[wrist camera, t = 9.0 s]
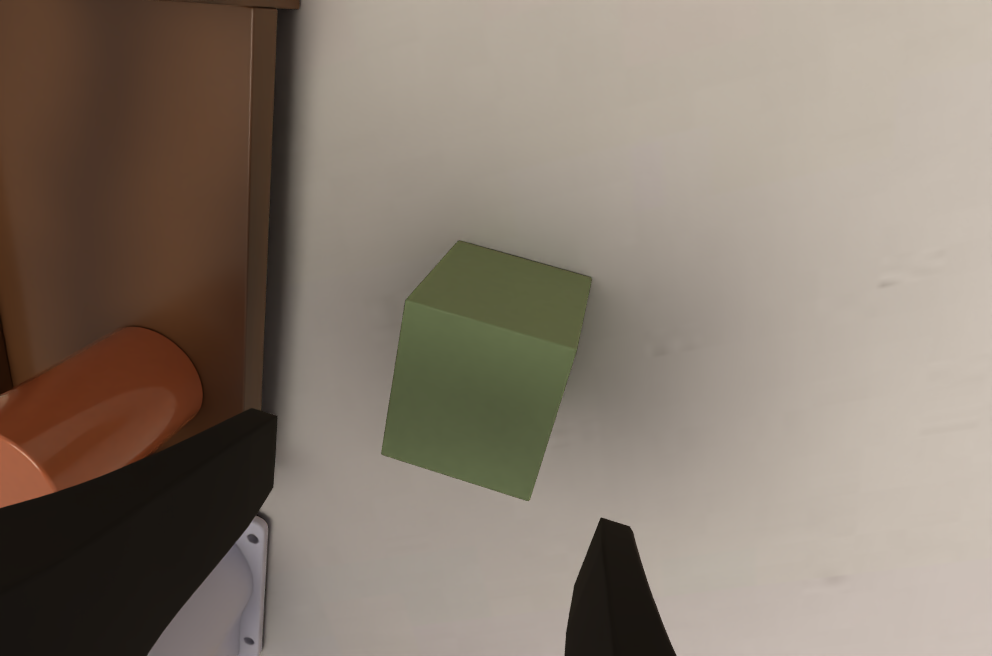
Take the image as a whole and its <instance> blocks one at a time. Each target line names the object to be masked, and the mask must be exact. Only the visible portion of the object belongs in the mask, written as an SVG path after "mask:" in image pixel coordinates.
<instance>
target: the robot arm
mask: <svg viewBox="0 0 992 656" xmlns="http://www.w3.org/2000/svg"><path fill="white" fill-rule="evenodd" d="M276 433H277V416H276V415H273V414H270V413H267V412H263V411H260V410H257V409H254V408H250V409H248V410H246V411H244V412H241V413H239V414H237V415H235V416H233V417H231V418H229V419H227V420H225V421H223V422H221V423H219V424H217V425H215V426H213V427H211V428H209V429H206V430H204V431H202V432H200V433H198V434H196V435H194V436H192V437H190V438H188V439H185V440H183V441H181V442H179V443H177V444H175V445H173V446H171V447H168V448H166V449H164V450H162V451H160V452H158V453H155V454H153V455H150V456H148V457H146V458H143V459H141V460H139V461H136V462H134V463H131V464H129V465H127V466H124V467H122V468H120V469H117V470H115V471H113V472H110V473H107V474H105V475H102V476H100V477H97V478H94V479H92V480H89V481H86V482H83V483H81V484H78V485H75V486H72V487H69V488H66V489H63V490H60V491H57V492H54V493H51V494H48V495H44V496H41V497H38V498H34V499H31V500H27V501H23V502H20V503H16V504H13V505H9V506H6V507H2V508H0V656H259V655H260V654H261V652H262V636H263V617H264V599H265V580H266V561H267V543H268V525H267V523H266V522H265V520H263V519H262V518H260V517H258V516H256V514H257V513H258V511H259V510H260V508H261V506H262V505H263V503H264V502H265V500H266V498H267V497H268V495H269V493H270V492H271V490H272V488H273V485H274V468H275V451H276ZM565 656H676V654H675V651H674V649H673V647H672V645H671V642H670V640H669V637H668V635H667V632H666V630H665V628H664V625H663V622H662V620H661V617H660V614H659V612H658V609H657V607H656V604H655V601H654V599H653V596H652V593H651V590H650V587H649V584H648V581H647V578H646V575H645V572H644V569H643V566H642V563H641V559H640V556H639V552H638V549H637V545H636V542H635V538H634V534H633V531H632V529H631V528H630V526H627V525H624V524H620V523H617V522H614V521H611V520H608V519H604V518H600V521H599V523H598V526H597V528H596V531H595V534H594V536H593V539H592V541H591V544H590V546H589V549H588V551H587V554H586V557H585V559H584V562H583V564H582V567H581V569H580V572H579V575H578V577H577V580H576V582H575V585H574V590H573V596H572V601H571V607H570V613H569V619H568V625H567V631H566V642H565Z"/></svg>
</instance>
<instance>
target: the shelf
mask: <svg viewBox="0 0 992 656" xmlns="http://www.w3.org/2000/svg"><path fill="white" fill-rule="evenodd" d="M299 4H300V0H0V395H1V394H2V393H4V392H6V391H8V390H10V389H11V388H13V387H15V386H17V385H18V384H20V383H22V382H24V381H26V380H27V379H29V378H31V377H33V376H34V375H36V374H38V373H40V372H41V371H43V370H45V369H47V368H49V367H50V366H52V365H54V364H56V363H57V362H59V361H61V360H63V359H64V358H66V357H68V356H70V355H72V354H73V353H75V352H77V351H79V350H80V349H82V348H84V347H86V346H88V345H89V344H91V343H93V342H95V341H96V340H98V339H100V338H102V337H103V336H105V335H107V334H109V333H111V332H112V331H114V330H116V329H119V328H123V327H143V328H147V329H150V330H153V331H155V332H158V333H160V334H162V335H163V336H165V337H167V338H168V339H170V340H171V341H172V342H174V343H175V344H176V345H177V346H178V347H180V348H181V349H182V350H183V351H184V353H185V354H186V355H187V356H188V357H189V359H190V360H191V361H192V363H193V365H194V366H195V368H196V370H197V372H198V374H199V377H200V380H201V383H202V388H203V401H202V405H201V408H200V410H199V412H198V414H197V415H196V417H195V418H194V419H193V420H191V421H190V422H189V423H188V424H187V425H186V426H184V427H183V428H182V429H181V430H180V431H179V432H178V433H176V434H175V435H174V436H173V437H172V438H171V439H169V440H168V441H167V442H166V443H165V444H164V445H162V446H161V447H160V448H159V449H158V450H157V451H155V452H154V453H153V454H155V453H158V452H160V451H162V450H164V449H166V448H168V447H171V446H173V445H175V444H177V443H179V442H181V441H183V440H185V439H188V438H190V437H192V436H194V435H196V434H198V433H200V432H202V431H204V430H206V429H209V428H211V427H213V426H215V425H217V424H219V423H221V422H223V421H225V420H227V419H229V418H231V417H233V416H235V415H237V414H239V413H241V412H244V411H246V410H248V409H250V408H254V409H257V410H260V411H261V401H262V377H263V352H264V328H265V304H266V280H267V255H268V231H269V207H270V182H271V158H272V134H273V109H274V85H275V61H276V36H277V12H278V11H277V9H276V8H280V9H296V10H297V9H299ZM153 454H152V455H153Z"/></svg>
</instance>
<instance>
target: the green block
mask: <svg viewBox="0 0 992 656" xmlns="http://www.w3.org/2000/svg"><path fill="white" fill-rule="evenodd" d="M591 281H592V278H591V277H587V276H584V275H580V274H577V273H573V272H570V271H566V270H562V269H559V268H555V267H552V266H548V265H545V264H541V263H537V262H534V261H530V260H527V259H523V258H520V257H516V256H512V255H509V254H505V253H502V252H498V251H495V250H491V249H487V248H484V247H480V246H477V245H473V244H470V243H466V242H462V241H457V243H456V244H455V245H454V246H453V247H452V248H451V249H450V251H449V252H448V253H447V254H446V255H445V256H444V257H443V258H442V260H441V261H440V262H439V263H438V264H437V265H436V266H435V267H434V269H433V270H432V271H431V272H430V273H429V274H428V275H427V276H426V278H425V279H424V280H423V281H422V282H421V283H420V284H419V285H418V287H417V288H416V289H415V290H414V291H413V292H412V293H411V294H410V296H409V297H408V298H407V299H406V300H405V305H404V312H403V318H402V324H401V331H400V337H399V343H398V350H397V356H396V362H395V369H394V375H393V381H392V388H391V394H390V400H389V407H388V413H387V419H386V426H385V432H384V438H383V445H382V451H381V454H382V455H384V456H387V457H390V458H394V459H397V460H400V461H403V462H406V463H409V464H412V465H416V466H419V467H422V468H425V469H428V470H431V471H434V472H438V473H441V474H444V475H447V476H450V477H453V478H456V479H460V480H463V481H466V482H469V483H472V484H475V485H479V486H482V487H485V488H488V489H491V490H494V491H497V492H501V493H504V494H507V495H510V496H513V497H516V498H519V499H523V500H526V501H529V500H530V498H531V495H532V492H533V488H534V485H535V482H536V479H537V476H538V472H539V469H540V466H541V463H542V460H543V457H544V453H545V450H546V447H547V444H548V441H549V437H550V434H551V431H552V428H553V425H554V422H555V418H556V415H557V412H558V409H559V406H560V403H561V399H562V396H563V393H564V390H565V387H566V383H567V380H568V377H569V374H570V371H571V368H572V364H573V361H574V358H575V355H576V352H577V347H578V343H579V338H580V333H581V328H582V324H583V319H584V314H585V310H586V305H587V300H588V295H589V291H590V286H591Z"/></svg>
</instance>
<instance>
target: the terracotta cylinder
mask: <svg viewBox="0 0 992 656" xmlns="http://www.w3.org/2000/svg"><path fill="white" fill-rule="evenodd" d="M202 401H203V388H202V383H201V380H200V377H199V374H198V372H197V370H196V368H195V366H194V365H193V363H192V361H191V360H190V359H189V357H188V356H187V355H186V354H185V353H184V351H183V350H182V349H181V348H180V347H178V346H177V345H176V344H175V343H174V342H172V341H171V340H170V339H168V338H167V337H165V336H163V335H162V334H160V333H158V332H155V331H153V330H150V329H147V328H143V327H123V328H119V329H116V330H114V331H112V332H111V333H109V334H107V335H105V336H103V337H102V338H100V339H98V340H96V341H95V342H93V343H91V344H89V345H88V346H86V347H84V348H82V349H80V350H79V351H77V352H75V353H73V354H72V355H70V356H68V357H66V358H64V359H63V360H61V361H59V362H57V363H56V364H54V365H52V366H50V367H49V368H47V369H45V370H43V371H41V372H40V373H38V374H36V375H34V376H33V377H31V378H29V379H27V380H26V381H24V382H22V383H20V384H18V385H17V386H15V387H13V388H11V389H10V390H8V391H6V392H4V393H2V394H1V395H0V508H2V507H6V506H9V505H13V504H16V503H20V502H23V501H27V500H31V499H34V498H38V497H41V496H44V495H48V494H51V493H54V492H57V491H60V490H63V489H66V488H69V487H72V486H75V485H78V484H81V483H83V482H86V481H89V480H92V479H94V478H97V477H100V476H102V475H105V474H107V473H110V472H113V471H115V470H117V469H120V468H122V467H124V466H127V465H129V464H131V463H134V462H136V461H139V460H141V459H143V458H146V457H148V456H150V455H152V454H153V453H154V452H155V451H157V450H158V449H159V448H160V447H161V446H162V445H164V444H165V443H166V442H167V441H168V440H169V439H171V438H172V437H173V436H174V435H175V434H176V433H178V432H179V431H180V430H181V429H182V428H183V427H184V426H186V425H187V424H188V423H189V422H190V421H191V420H193V419H194V418H195V417H196V415H197V414H198V412H199V410H200V408H201V405H202Z"/></svg>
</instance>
